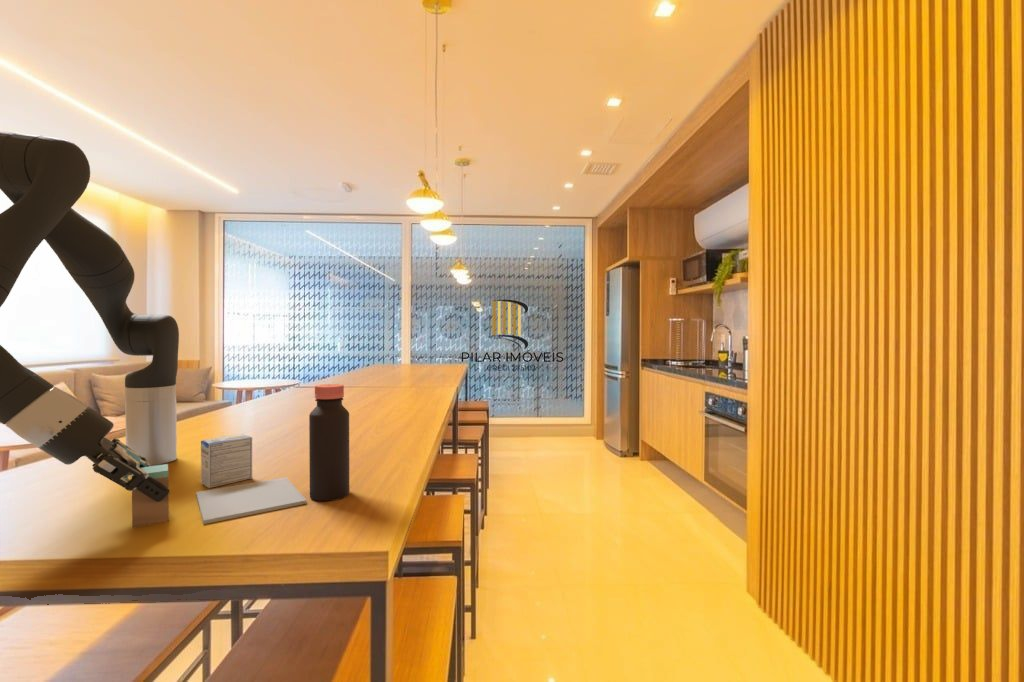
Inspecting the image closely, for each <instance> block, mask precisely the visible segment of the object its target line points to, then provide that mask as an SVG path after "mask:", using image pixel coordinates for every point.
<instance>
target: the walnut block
mask: <svg viewBox="0 0 1024 682" xmlns="http://www.w3.org/2000/svg"><path fill="white" fill-rule="evenodd" d="M140 469H142V470H143V471H144V472H145V473H148V474H149V476H150V477H152V478H153V479H155V480H157V481H158V482H160V483H161V484H163V485H164V486H166V487H167V488H169V489H170V487H169V482H168V479H169V463H163V464H158V465H152V466H149V467H141V468H140ZM134 476H135V475H133V474H132V476H131V479H132V478H133V477H134ZM169 494H170V493H169ZM169 494H168V495H167V496H166V497H165V498H164V499H163V500H162V501H160V502H156V501H155V500H153V499H151V498H150V497H148V496H147V495H145V494H143V493H142V492H140V491H139V490H137V489H136V490H132V491H131V516H132V517H131V519H132V520H131V522H132V523H131V525H132V526H131V527H132V529H135V528H140V526H141V527H145V526H144V525H146V526H150V525H149V524H151V525H155V524H154V523H156V524H161V523H160V522H162V523H165V521H167V522H169V521H170V507H169V506H170V505H169V503H170V499H169V498H170V497H169Z"/></svg>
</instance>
